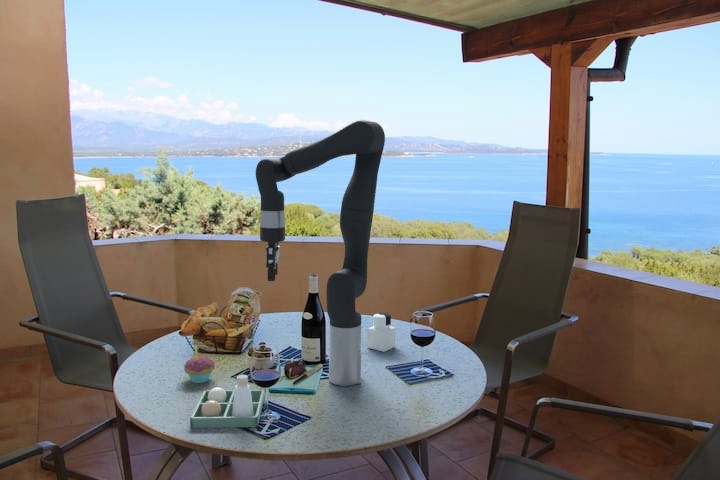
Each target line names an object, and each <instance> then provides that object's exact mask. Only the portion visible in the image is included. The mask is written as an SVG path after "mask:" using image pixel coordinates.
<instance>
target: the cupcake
mask: <svg viewBox="0 0 720 480" xmlns="http://www.w3.org/2000/svg"><path fill="white" fill-rule="evenodd" d="M194 354H195V357H193V358H190V359H188V360H187V361H186V362H185V364H184V366H183V367H184V368H183V369H184V372H185V374H187V375H188V377H189V379H190V381H191V383H194V384H202V383H206V382H208V381H209V380H210V377H211V374H212V372H213V371H214V370H215V368H216V366H215V365H216V364H215V362H214V360H213V359H210V358H209V357H207V356H203V355H200V356H199V355H198V354H199V353H198V346H197V345H196V343H194Z"/></svg>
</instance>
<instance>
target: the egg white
mask: <svg viewBox="0 0 720 480" xmlns="http://www.w3.org/2000/svg"><path fill="white" fill-rule="evenodd" d="M209 390H210V392H209V393H208V401H209V400H215V401H217V402H218V403H224V402H225V401H226V398H227V394H226V392H225V390H226V389H224V388H222V387H220V386H218V387H217V386H216V387H214V388H211V389H209Z"/></svg>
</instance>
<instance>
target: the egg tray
mask: <svg viewBox="0 0 720 480" xmlns="http://www.w3.org/2000/svg"><path fill="white" fill-rule="evenodd" d="M210 390H211V389H208V390H207V389H206V390H203V392H202V394H201V397H200V398H199V400H198V403H197V404H196V406H195V408H194V410H193V412H192V415H191V416H190V418H189V420H190V429H204V428H205V429H207V428H209V429H210V428H211V429H212V428H214V429H215V428H216V429H218V428H258V427H259V423H260V419H261V415H262V410H263V407H264V402H265V389H251V396H252V404H253V413H254V416H238V417H232V410H233V400H234V390H235V389H224V390H225V392H226V394H227V398H226V401H225V402H224V403H219V404H220V405H221V414H220V416H219V417H203V416H202V414H201V408H202V406H203V404H204V403H205V402H207V401H208V393H209V392H210Z"/></svg>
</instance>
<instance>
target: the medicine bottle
mask: <svg viewBox="0 0 720 480" xmlns="http://www.w3.org/2000/svg"><path fill="white" fill-rule="evenodd" d="M372 319H373V321H372V323H373V325H372V326H370V327H369V328H367V349H371V350H375V351H379V352H383V353H385V352H388V351H389V350H391V349H393V348H396V331H397V328H396V327H395V326H392V325H391V323H392V316H391V314H389V313H387V312H377V313H374V314H373V317H372Z"/></svg>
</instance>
